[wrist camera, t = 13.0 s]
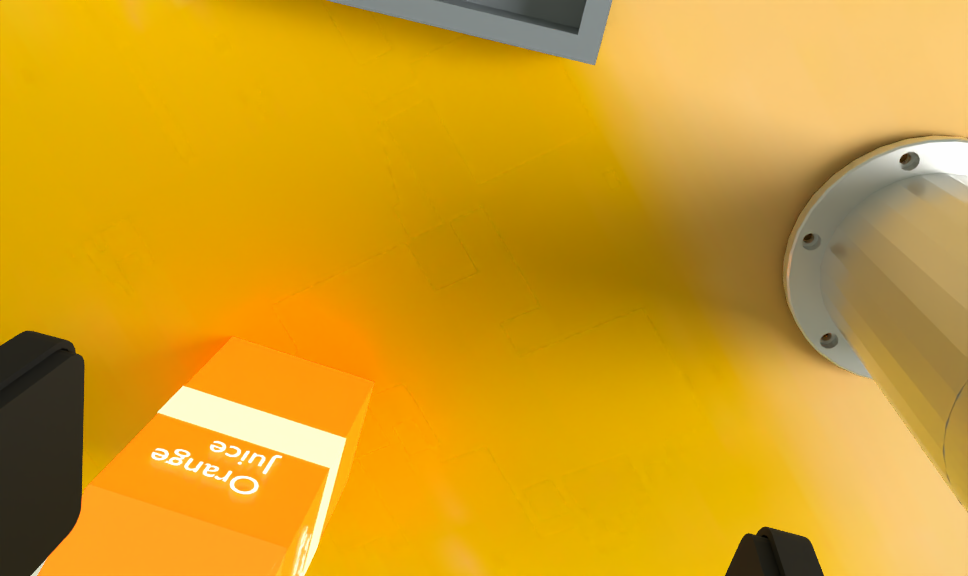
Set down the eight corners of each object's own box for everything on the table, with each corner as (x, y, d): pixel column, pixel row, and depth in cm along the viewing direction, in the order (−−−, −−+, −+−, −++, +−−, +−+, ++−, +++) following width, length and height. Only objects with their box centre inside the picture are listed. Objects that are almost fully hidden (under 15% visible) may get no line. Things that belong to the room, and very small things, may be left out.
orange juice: (347, 483, 48) (200, 799, 30) (212, 440, 48) (-18, 728, 30) (376, 379, 45) (232, 659, 27) (231, 332, 45) (-12, 580, 27)
